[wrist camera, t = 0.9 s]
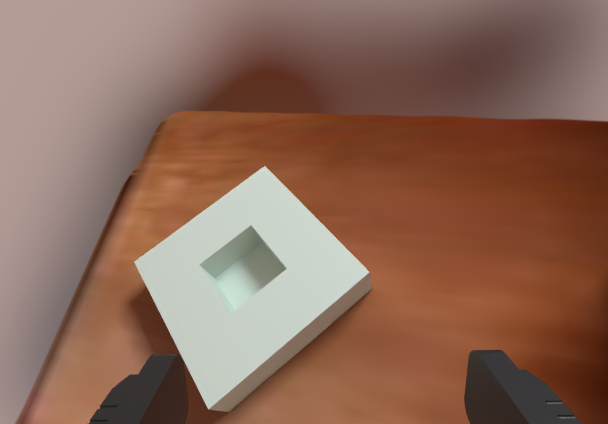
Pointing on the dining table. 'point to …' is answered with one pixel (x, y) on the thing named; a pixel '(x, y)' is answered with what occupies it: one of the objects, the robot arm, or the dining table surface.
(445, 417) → the dining table surface
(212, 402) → the socket block
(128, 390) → the robot arm
